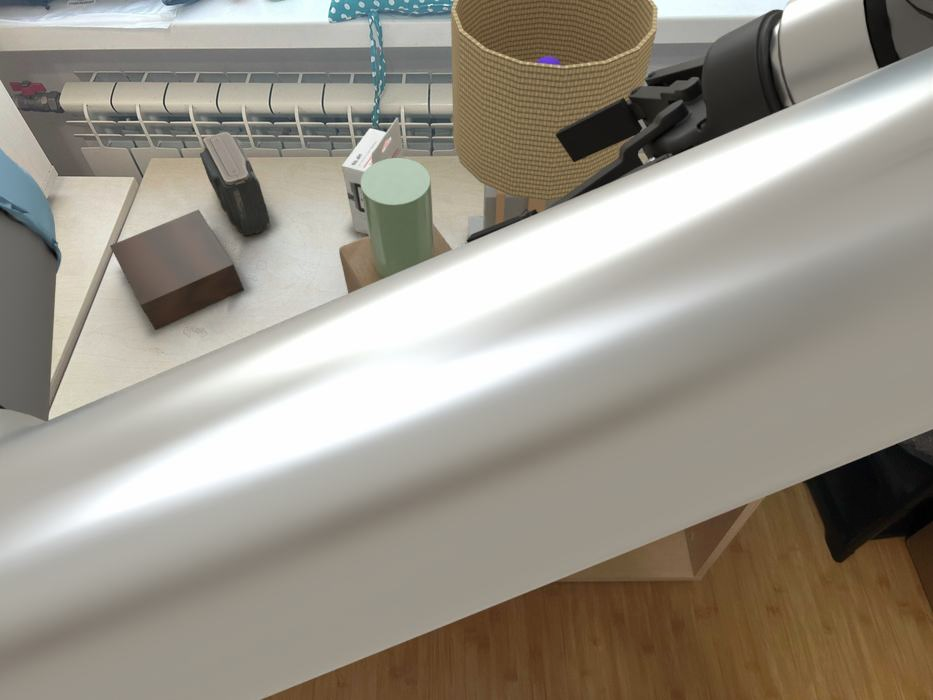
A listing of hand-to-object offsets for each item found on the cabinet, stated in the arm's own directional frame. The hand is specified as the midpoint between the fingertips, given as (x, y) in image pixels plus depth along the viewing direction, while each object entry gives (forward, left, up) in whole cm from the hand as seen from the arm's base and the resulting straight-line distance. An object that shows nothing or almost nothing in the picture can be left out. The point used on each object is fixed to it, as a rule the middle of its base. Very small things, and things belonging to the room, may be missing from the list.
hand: (525, 195), depth 52 cm
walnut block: (-23, +41, -34) cm, 58 cm away
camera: (-11, +49, -34) cm, 61 cm away
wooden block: (-5, +11, -34) cm, 36 cm away
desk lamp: (+17, +18, -34) cm, 42 cm away
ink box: (+5, +37, -34) cm, 51 cm away
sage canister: (-5, +11, -14) cm, 19 cm away
